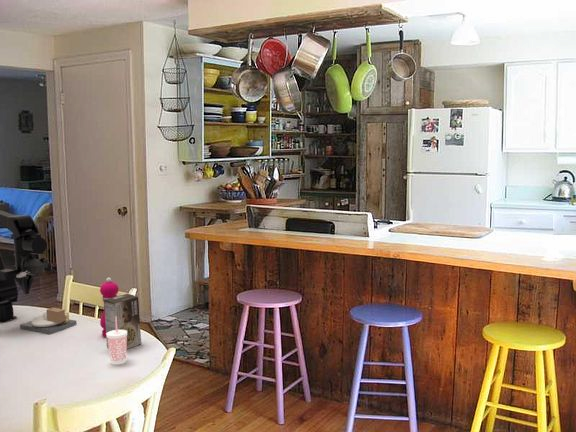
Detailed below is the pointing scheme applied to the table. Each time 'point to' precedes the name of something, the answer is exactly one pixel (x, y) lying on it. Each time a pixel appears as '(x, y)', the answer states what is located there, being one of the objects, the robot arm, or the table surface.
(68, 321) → the gold rounded piece
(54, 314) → the flange
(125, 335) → the beverage cup
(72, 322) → the base plate
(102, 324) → the pepper mill
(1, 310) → the robot arm
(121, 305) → the coffee box
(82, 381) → the table surface
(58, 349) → the table surface
